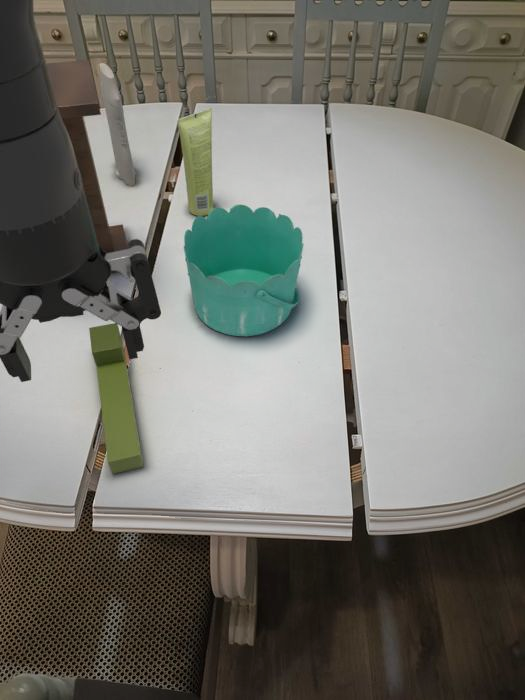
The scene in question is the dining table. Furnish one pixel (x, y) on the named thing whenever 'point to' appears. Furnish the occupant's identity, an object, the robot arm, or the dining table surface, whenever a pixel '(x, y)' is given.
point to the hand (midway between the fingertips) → (80, 362)
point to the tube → (198, 160)
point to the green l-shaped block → (115, 399)
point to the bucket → (243, 269)
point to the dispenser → (117, 126)
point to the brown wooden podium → (84, 141)
